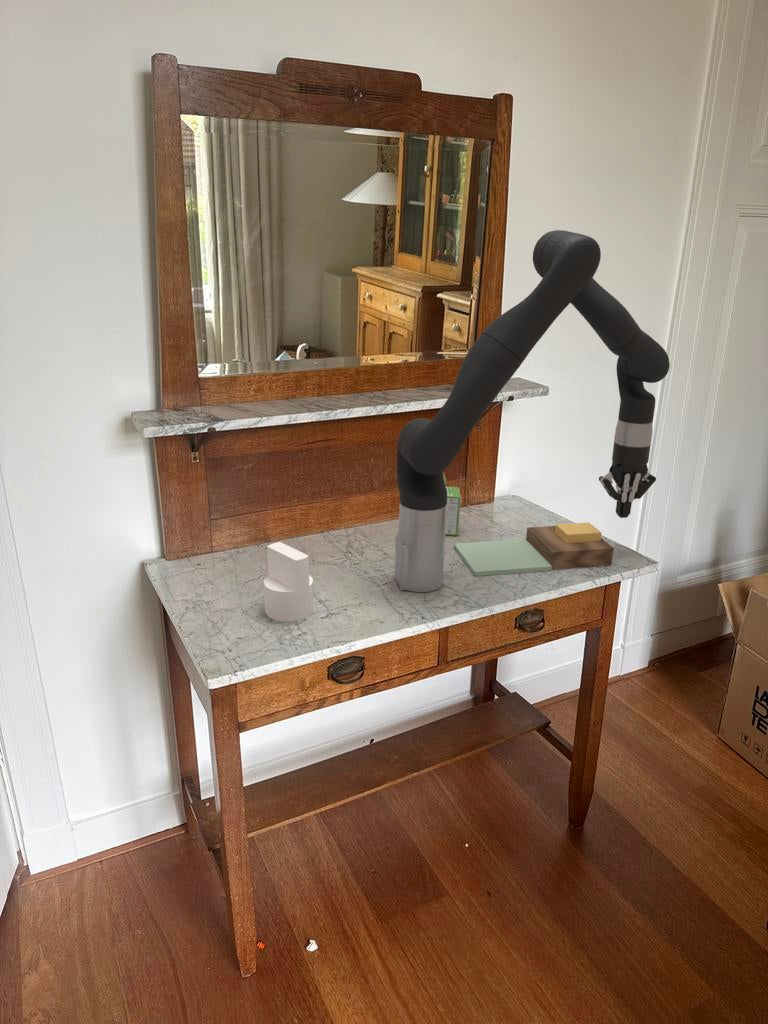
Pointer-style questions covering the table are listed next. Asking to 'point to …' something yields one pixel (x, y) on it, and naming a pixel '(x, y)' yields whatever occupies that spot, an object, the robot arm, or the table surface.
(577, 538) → the tile
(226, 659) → the table surface
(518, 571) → the mat
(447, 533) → the ink box
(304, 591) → the base with upright slab
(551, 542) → the brown wooden block
